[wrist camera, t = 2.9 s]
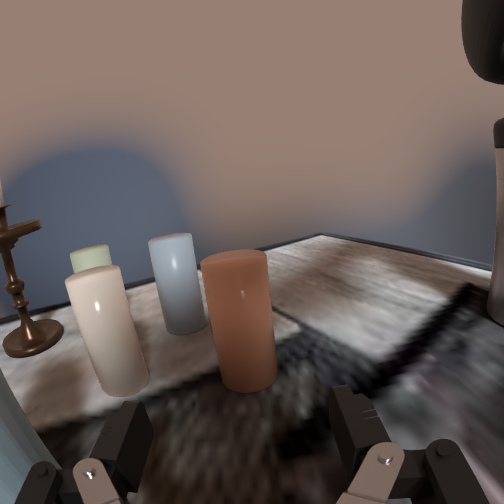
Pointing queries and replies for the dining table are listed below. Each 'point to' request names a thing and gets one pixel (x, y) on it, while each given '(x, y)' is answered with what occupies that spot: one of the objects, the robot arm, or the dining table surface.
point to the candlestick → (30, 332)
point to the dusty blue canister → (178, 283)
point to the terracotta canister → (241, 318)
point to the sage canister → (90, 257)
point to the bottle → (17, 445)
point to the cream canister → (108, 329)
